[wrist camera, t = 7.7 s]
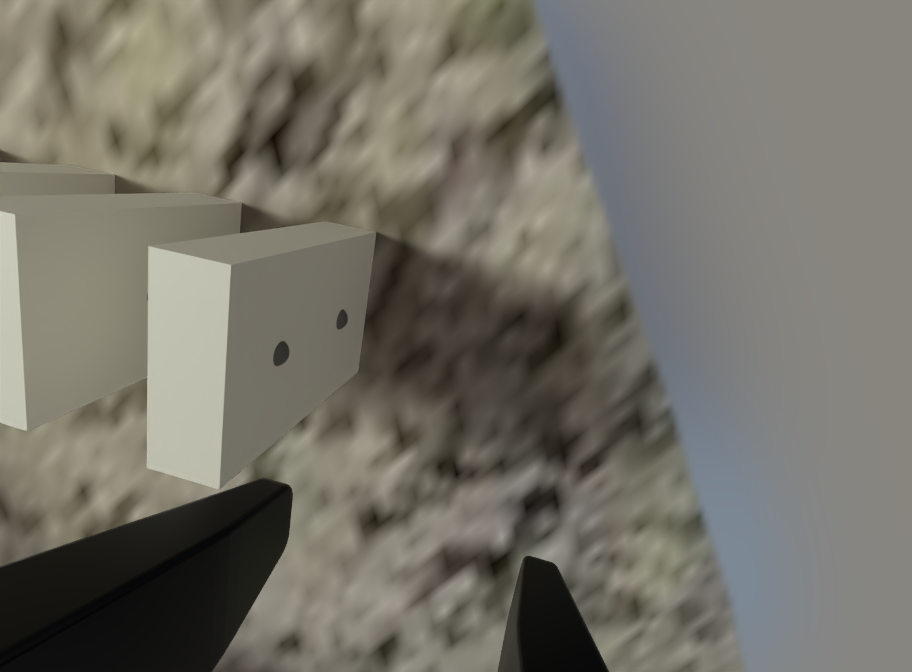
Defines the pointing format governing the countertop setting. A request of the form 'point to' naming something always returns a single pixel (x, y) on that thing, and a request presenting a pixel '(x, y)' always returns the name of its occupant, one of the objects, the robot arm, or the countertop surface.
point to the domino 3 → (249, 340)
